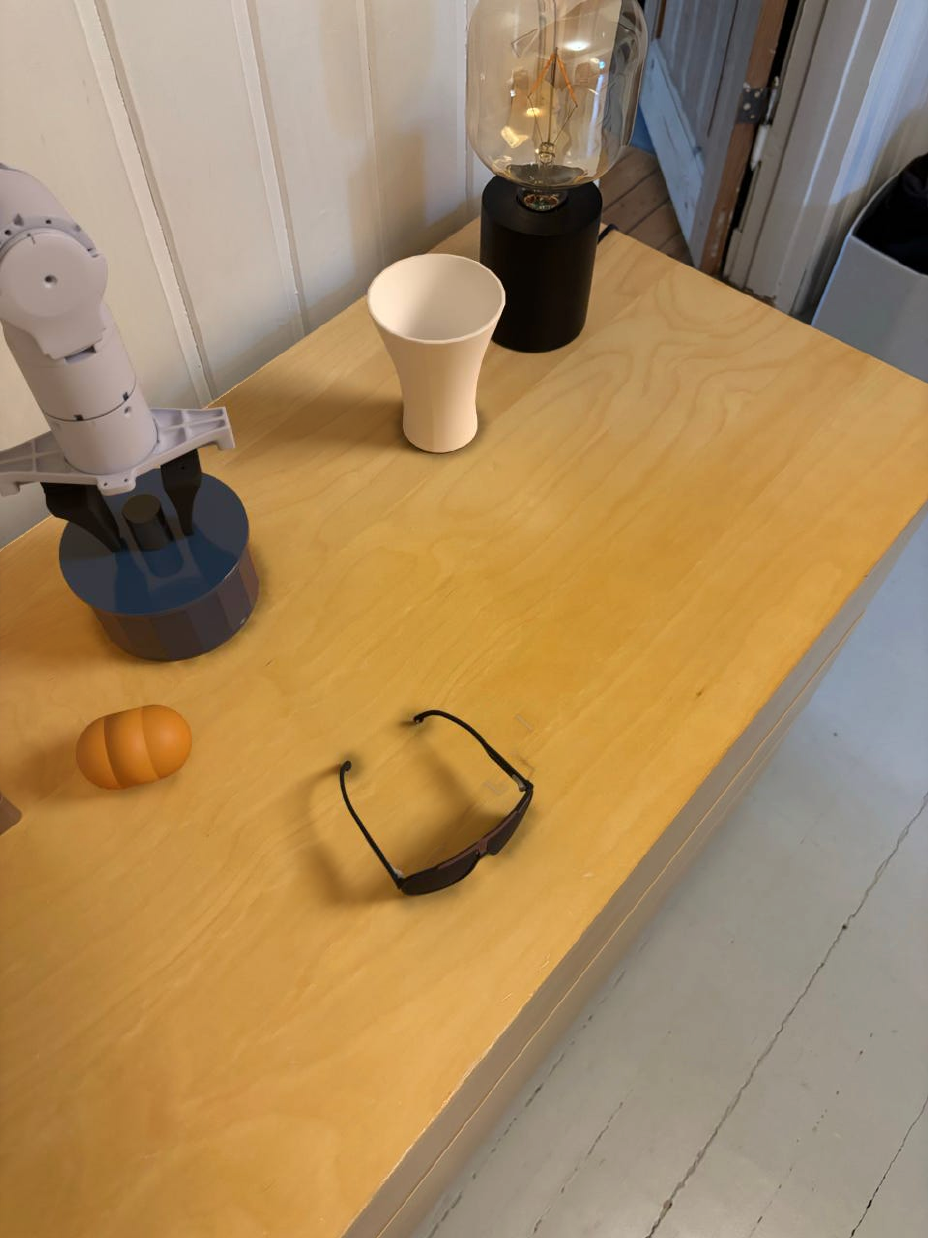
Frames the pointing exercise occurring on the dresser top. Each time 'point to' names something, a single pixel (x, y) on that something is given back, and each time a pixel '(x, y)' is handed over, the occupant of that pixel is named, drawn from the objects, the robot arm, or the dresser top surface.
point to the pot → (189, 621)
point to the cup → (437, 341)
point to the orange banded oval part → (133, 747)
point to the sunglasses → (468, 858)
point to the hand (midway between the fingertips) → (152, 533)
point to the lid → (157, 551)
